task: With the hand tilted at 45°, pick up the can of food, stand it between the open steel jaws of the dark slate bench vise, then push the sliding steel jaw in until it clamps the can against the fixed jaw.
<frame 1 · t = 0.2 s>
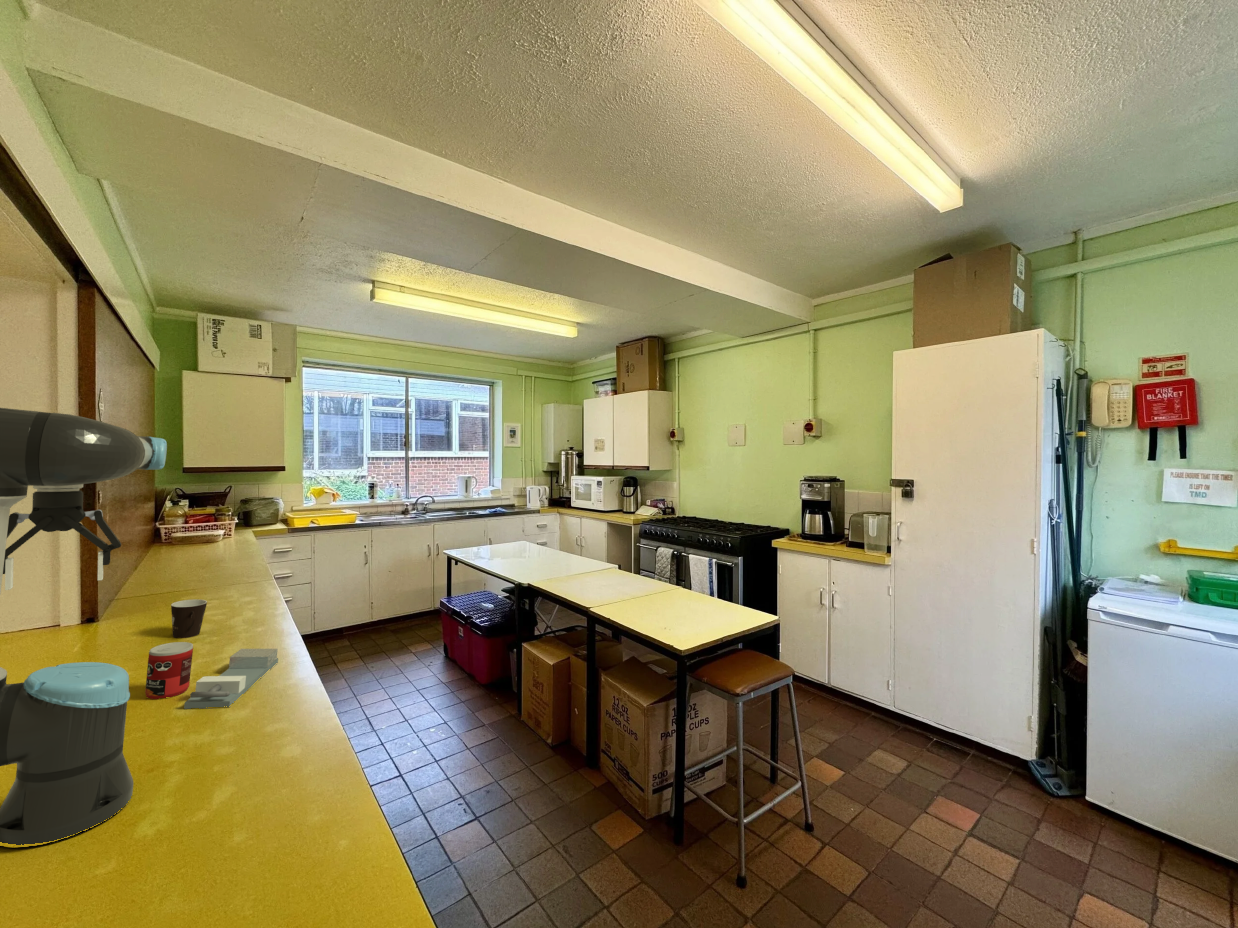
hand: (56, 583, 111), 27 cm above the kitchen counter, tool pointing down, fingers open, 13 cm apart
vise base: (234, 684, 126), on the kitchen counter
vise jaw: (253, 657, 135), point 3 cm above the kitchen counter, slide at 0.0 cm
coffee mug: (184, 636, 153), on the kitchen counter
canned food: (167, 693, 119), on the kitchen counter
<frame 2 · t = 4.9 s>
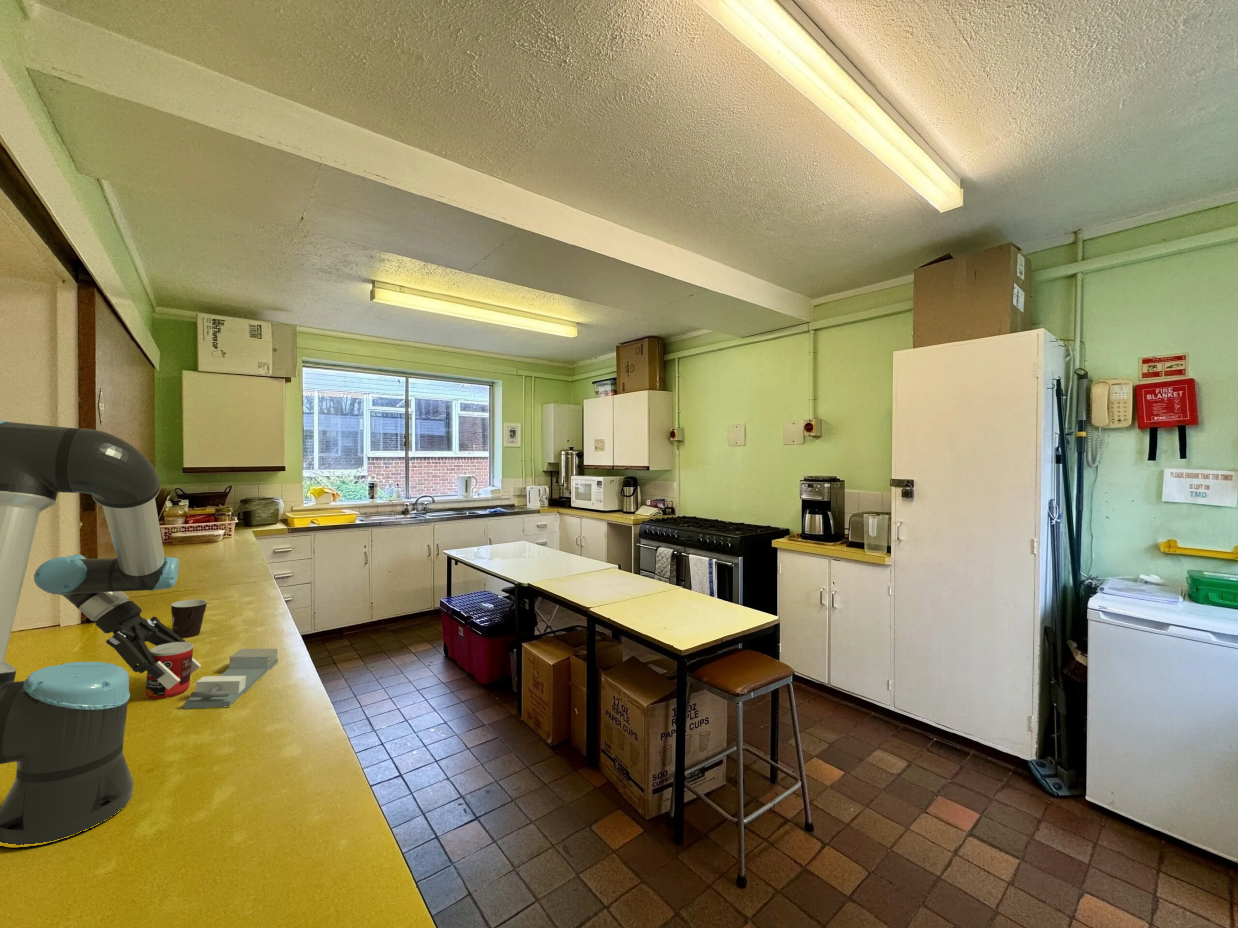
hand: (185, 676, 120), 4 cm above the kitchen counter, tool tilted 45°, fingers closed on canned food, 8 cm apart
canned food: (167, 693, 119), on the kitchen counter, touching gripper
everything else where it was.
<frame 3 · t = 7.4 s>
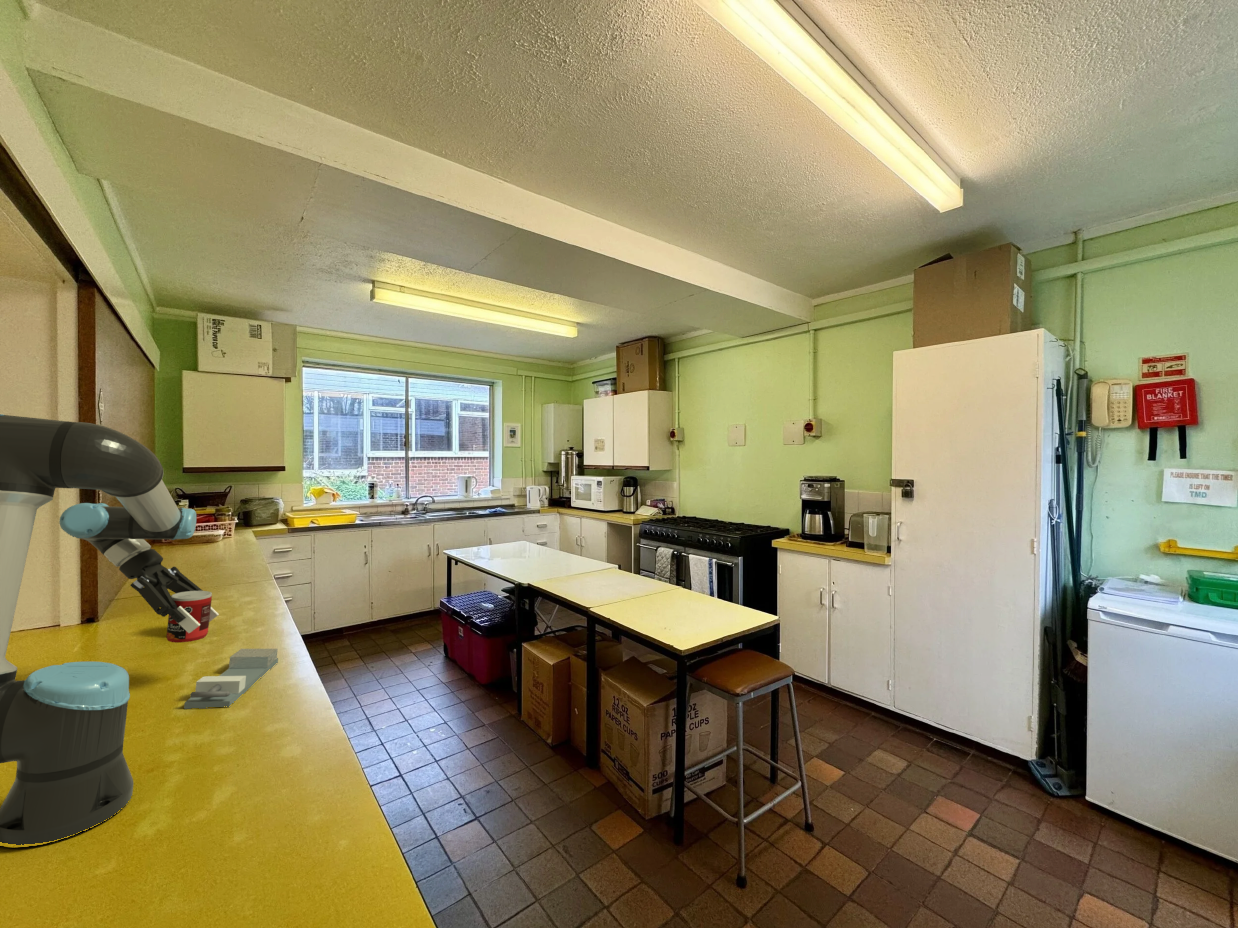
hand: (204, 623, 125), 15 cm above the kitchen counter, tool tilted 45°, fingers closed on canned food, 8 cm apart
canned food: (187, 638, 124), point 12 cm above the kitchen counter, touching gripper
everything else where it was.
when the fingers open (7 cm above the kitchen counter, at t = 10.3 s): canned food drops 1 cm, resting on vise base.
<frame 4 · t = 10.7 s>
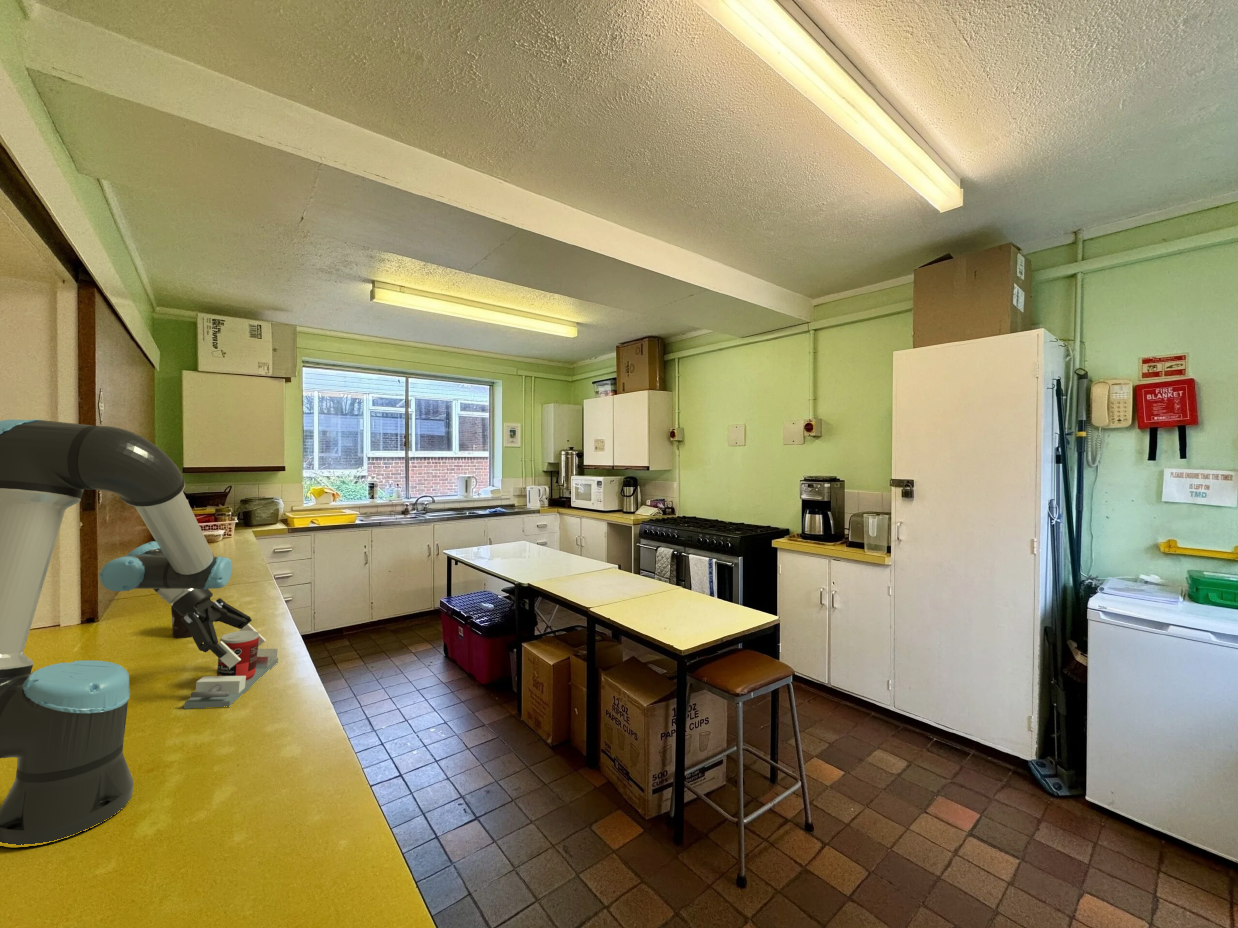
hand: (249, 653, 127), 8 cm above the kitchen counter, tool tilted 45°, fingers open, 13 cm apart
canned food: (236, 678, 126), point 1 cm above the kitchen counter, touching vise base
everything else where it was.
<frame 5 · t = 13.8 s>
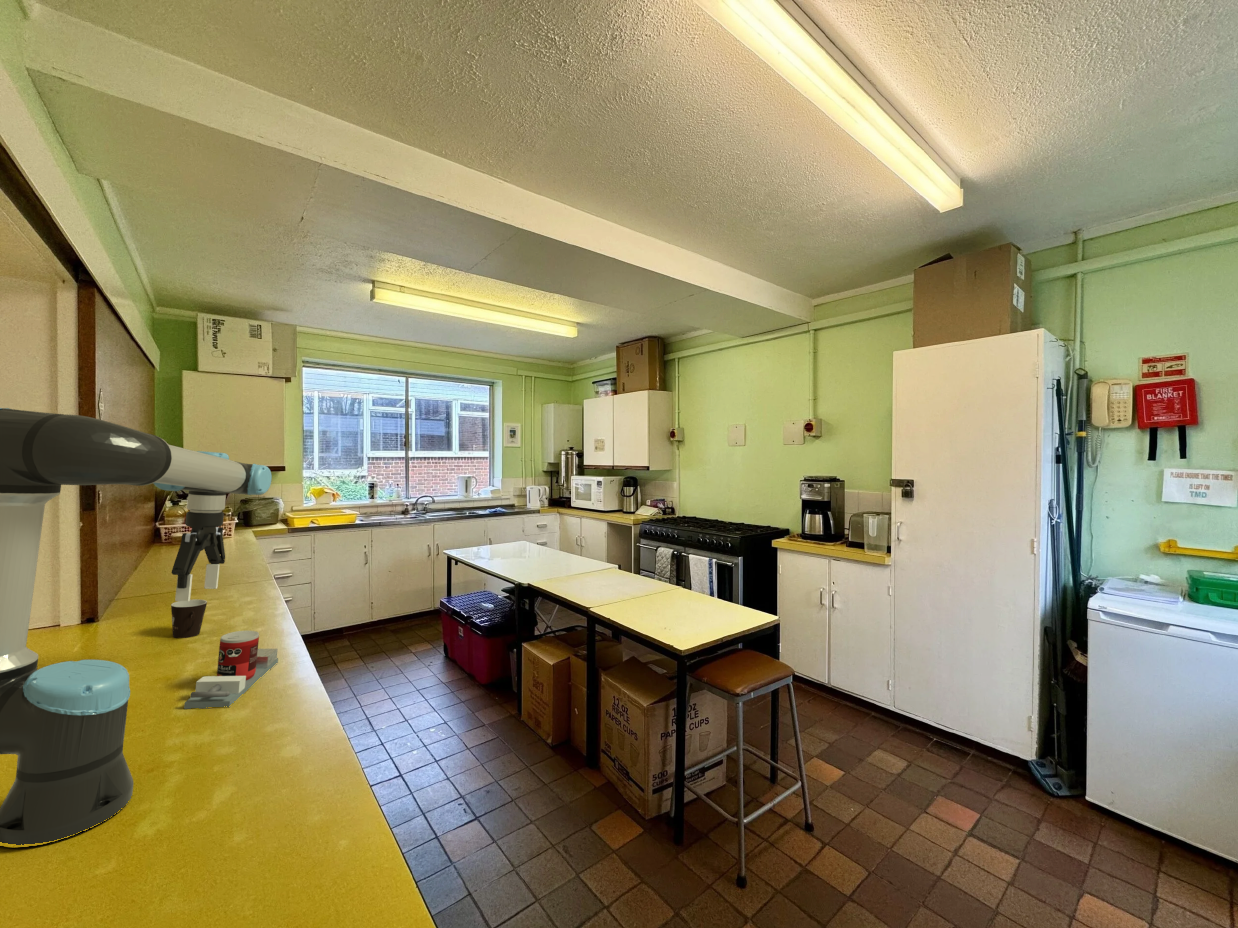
hand: (197, 594, 127), 22 cm above the kitchen counter, tool pointing down, fingers open, 12 cm apart
nothing on the kitchen counter moved.
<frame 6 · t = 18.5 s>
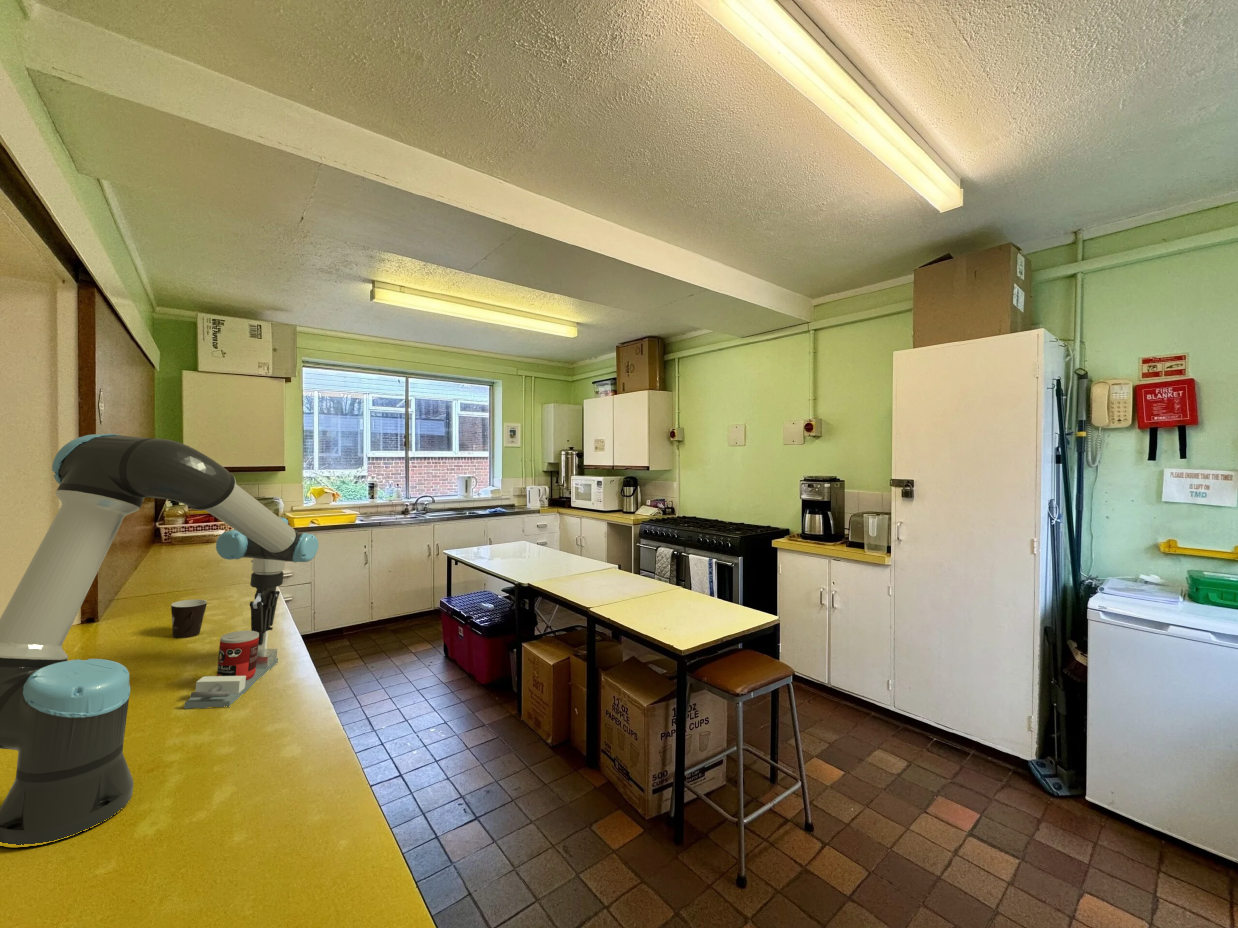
hand: (259, 654, 139), 3 cm above the kitchen counter, tool pointing down, fingers closed
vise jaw: (253, 658, 135), point 3 cm above the kitchen counter, slide at 0.1 cm, touching gripper
everything else where it was.
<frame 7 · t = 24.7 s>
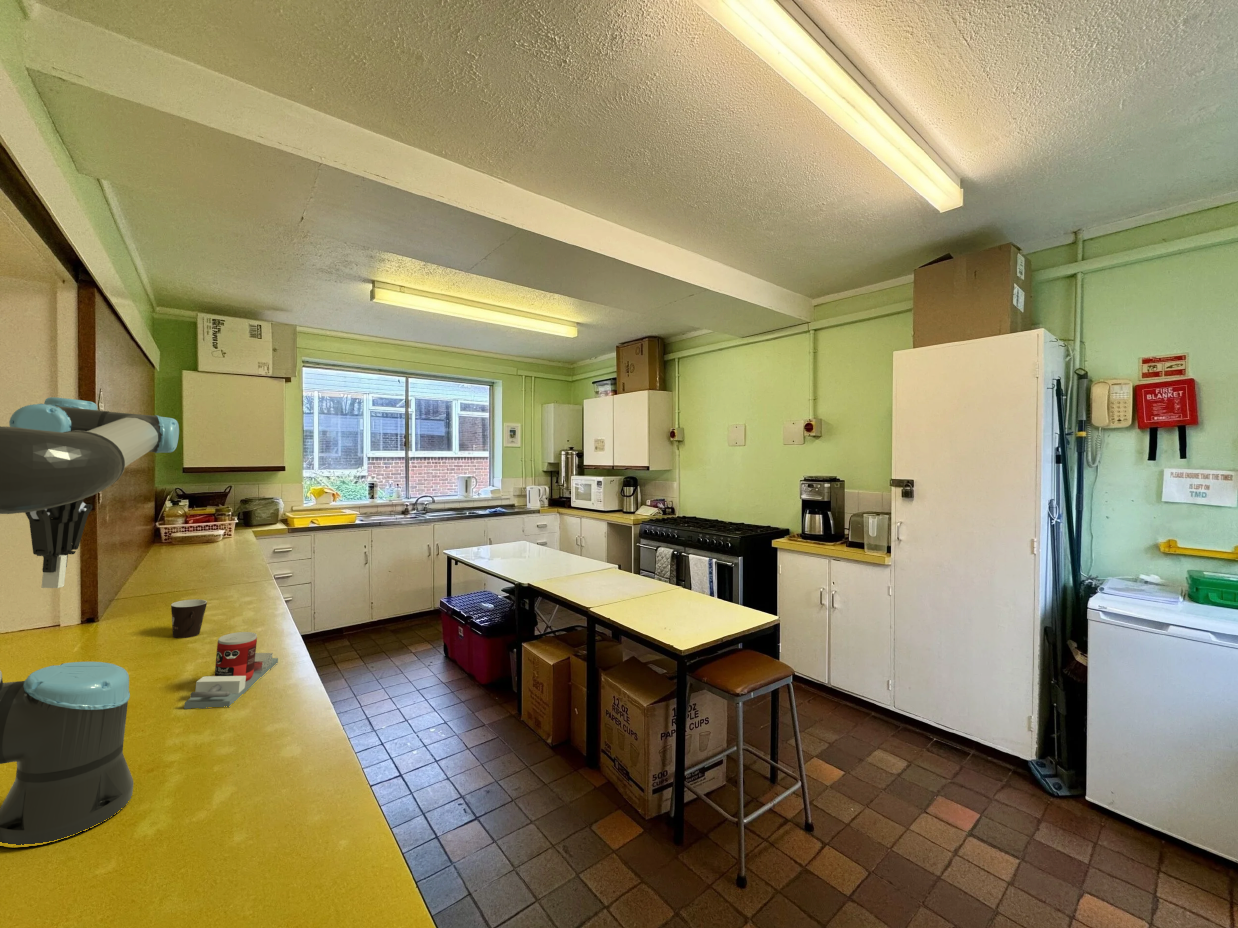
hand: (52, 586, 101), 29 cm above the kitchen counter, tool pointing down, fingers closed
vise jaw: (248, 662, 132), point 3 cm above the kitchen counter, slide at 3.2 cm
canned food: (233, 680, 125), point 1 cm above the kitchen counter, touching vise base
everything else where it was.
at the end: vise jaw slide at 3.2 cm; canned food 0.0 cm off-centre on the vise base, point 1.3 cm above the vise base's base; canned food tilted 0° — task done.
